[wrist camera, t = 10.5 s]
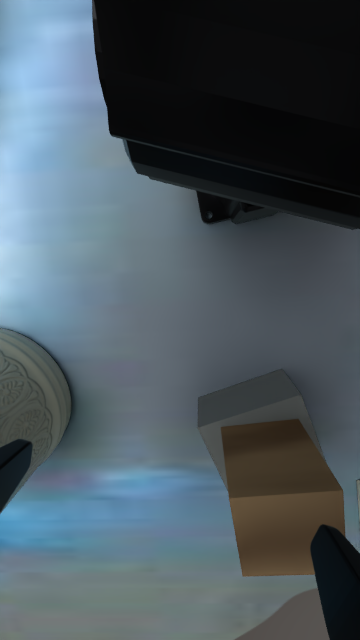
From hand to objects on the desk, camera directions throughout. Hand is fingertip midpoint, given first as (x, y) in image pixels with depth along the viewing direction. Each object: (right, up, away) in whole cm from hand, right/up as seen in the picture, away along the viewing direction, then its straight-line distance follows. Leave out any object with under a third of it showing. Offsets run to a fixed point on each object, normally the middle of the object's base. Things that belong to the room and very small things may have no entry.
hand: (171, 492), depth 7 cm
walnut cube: (+6, -4, +9) cm, 11 cm away
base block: (+6, -3, +13) cm, 15 cm away
